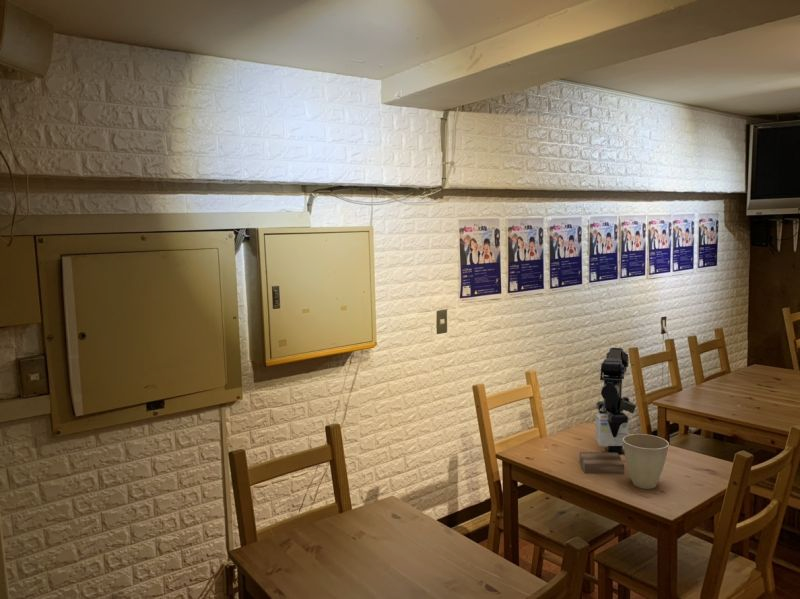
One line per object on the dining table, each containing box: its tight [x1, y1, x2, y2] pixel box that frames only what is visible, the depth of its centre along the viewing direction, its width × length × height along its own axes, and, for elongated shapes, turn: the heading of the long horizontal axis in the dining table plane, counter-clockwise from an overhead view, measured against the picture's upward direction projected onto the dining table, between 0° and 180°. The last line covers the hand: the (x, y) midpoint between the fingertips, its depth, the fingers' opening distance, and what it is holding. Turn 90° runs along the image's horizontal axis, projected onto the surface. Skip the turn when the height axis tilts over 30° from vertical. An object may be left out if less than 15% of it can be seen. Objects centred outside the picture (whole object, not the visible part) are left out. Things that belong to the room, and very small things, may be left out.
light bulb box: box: [595, 413, 629, 447], centre depth 227 cm, size 11×7×11 cm, turn 87°
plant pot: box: [623, 433, 670, 490], centre depth 212 cm, size 15×15×16 cm
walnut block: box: [579, 451, 625, 475], centre depth 229 cm, size 12×14×4 cm
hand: (611, 433), depth 227 cm, fingers closed on light bulb box, 7 cm apart
